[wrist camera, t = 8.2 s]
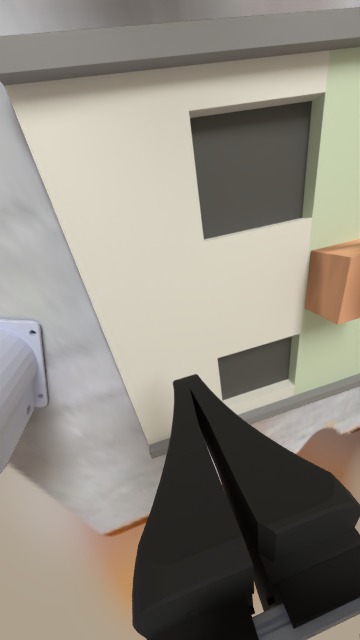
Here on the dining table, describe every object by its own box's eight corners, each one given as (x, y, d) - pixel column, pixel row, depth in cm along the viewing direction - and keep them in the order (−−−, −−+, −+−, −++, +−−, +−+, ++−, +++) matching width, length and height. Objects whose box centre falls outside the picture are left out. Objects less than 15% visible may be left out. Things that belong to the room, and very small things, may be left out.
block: (304, 308, 22) (337, 324, 19) (310, 250, 20) (351, 257, 16) (352, 294, 23) (393, 308, 20) (365, 237, 20) (414, 241, 17)
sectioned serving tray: (150, 439, 28) (152, 458, 26) (5, 71, 12) (-22, 37, 10) (374, 364, 32) (392, 374, 30) (484, 23, 16) (540, -8, 14)
